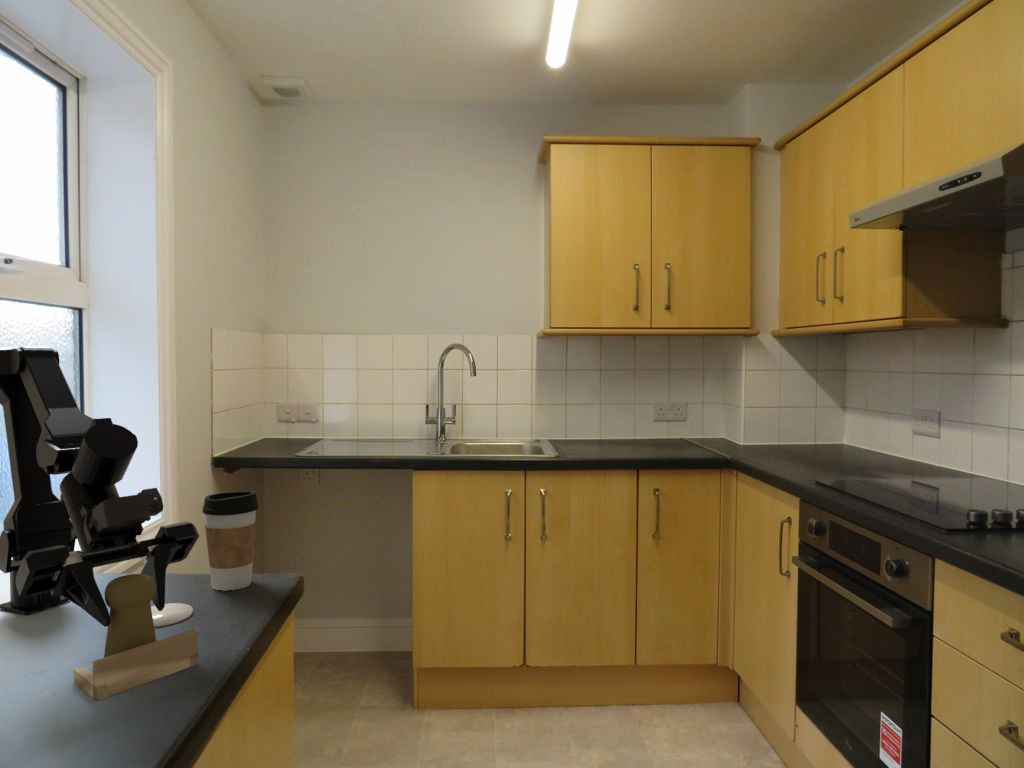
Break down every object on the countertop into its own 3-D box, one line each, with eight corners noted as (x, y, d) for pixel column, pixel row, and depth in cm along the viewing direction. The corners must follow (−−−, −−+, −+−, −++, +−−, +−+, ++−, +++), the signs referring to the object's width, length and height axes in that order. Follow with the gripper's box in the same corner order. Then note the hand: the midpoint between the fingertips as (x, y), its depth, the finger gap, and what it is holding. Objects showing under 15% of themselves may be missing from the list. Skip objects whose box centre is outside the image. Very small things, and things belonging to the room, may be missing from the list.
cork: (97, 685, 74) (95, 588, 74) (106, 662, 80) (104, 572, 79) (157, 675, 77) (156, 581, 76) (162, 653, 82) (161, 566, 82)
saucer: (115, 622, 92) (115, 619, 92) (165, 602, 99) (165, 600, 99) (157, 631, 89) (157, 628, 89) (205, 610, 96) (205, 607, 96)
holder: (73, 682, 75) (73, 647, 75) (172, 649, 83) (172, 618, 83) (97, 700, 71) (96, 664, 71) (198, 663, 79) (198, 631, 79)
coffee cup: (239, 595, 103) (238, 499, 102) (191, 591, 104) (190, 497, 104) (269, 578, 111) (268, 489, 110) (224, 574, 112) (223, 487, 112)
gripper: (21, 480, 72) (60, 602, 66) (191, 460, 87) (236, 558, 81) (0, 539, 78) (35, 657, 71) (164, 511, 92) (204, 607, 86)
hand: (135, 616), depth 77 cm, fingers open, 6 cm apart
